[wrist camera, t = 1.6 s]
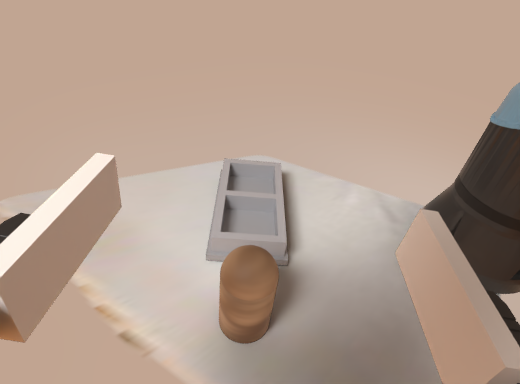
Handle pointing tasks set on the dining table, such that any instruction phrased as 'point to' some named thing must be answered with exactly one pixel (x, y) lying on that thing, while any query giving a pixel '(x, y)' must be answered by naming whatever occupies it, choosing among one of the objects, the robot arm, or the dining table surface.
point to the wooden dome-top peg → (247, 293)
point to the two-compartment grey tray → (249, 210)
